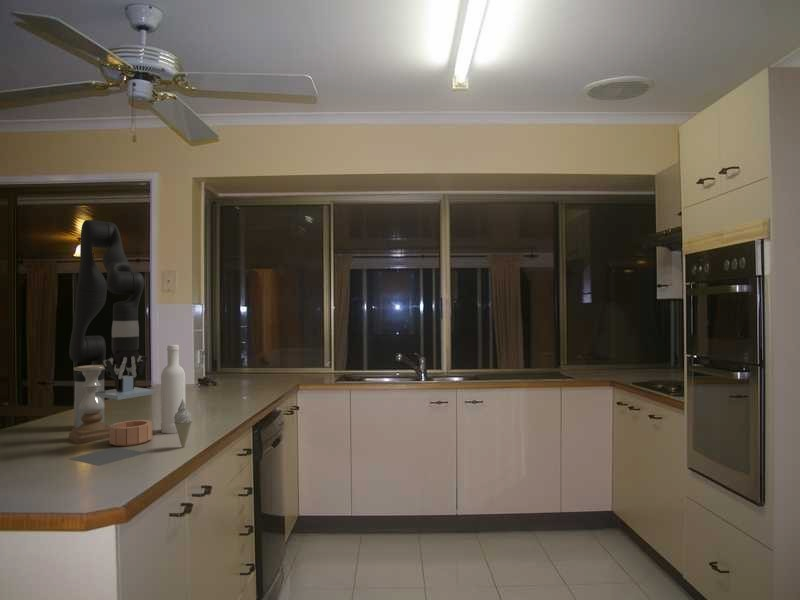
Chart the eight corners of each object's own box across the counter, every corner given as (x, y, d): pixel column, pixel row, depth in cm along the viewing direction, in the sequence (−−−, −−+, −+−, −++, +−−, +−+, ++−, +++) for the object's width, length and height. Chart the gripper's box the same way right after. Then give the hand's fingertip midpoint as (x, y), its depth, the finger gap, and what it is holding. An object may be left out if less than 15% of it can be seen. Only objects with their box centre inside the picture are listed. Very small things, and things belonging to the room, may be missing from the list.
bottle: (176, 434, 176) (176, 345, 176) (156, 433, 177) (155, 345, 178) (190, 428, 183) (190, 344, 184) (170, 428, 185) (170, 344, 186)
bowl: (101, 445, 162) (101, 426, 162) (137, 436, 173) (136, 418, 173) (124, 449, 156) (124, 429, 156) (160, 440, 167) (160, 422, 167)
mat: (67, 460, 146) (67, 458, 146) (115, 448, 159) (115, 446, 159) (98, 467, 139) (98, 465, 139) (146, 454, 151) (146, 452, 151)
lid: (95, 396, 160) (95, 377, 160) (132, 390, 170) (132, 372, 170) (117, 399, 154) (117, 380, 154) (154, 393, 164) (154, 375, 164)
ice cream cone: (177, 446, 159) (177, 397, 159) (194, 446, 160) (194, 397, 160) (171, 451, 154) (171, 400, 154) (189, 450, 155) (188, 400, 155)
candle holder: (115, 437, 172) (115, 365, 172) (78, 444, 164) (78, 368, 164) (104, 432, 179) (104, 363, 180) (68, 439, 171) (67, 366, 172)
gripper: (139, 333, 170) (139, 386, 170) (95, 335, 158) (95, 392, 158) (153, 334, 167) (153, 388, 166) (110, 336, 154) (109, 394, 154)
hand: (125, 389), depth 162 cm, fingers closed on lid, 3 cm apart
